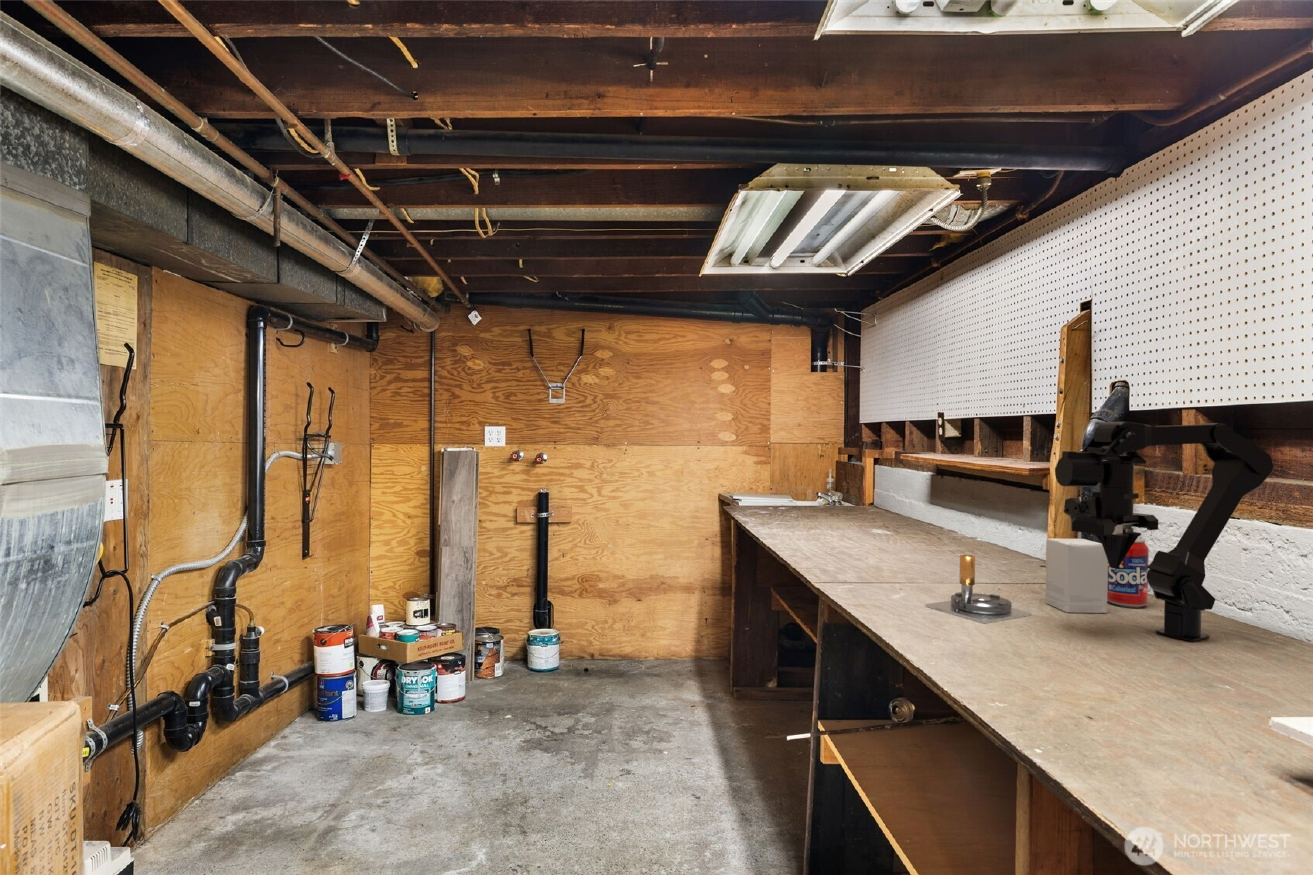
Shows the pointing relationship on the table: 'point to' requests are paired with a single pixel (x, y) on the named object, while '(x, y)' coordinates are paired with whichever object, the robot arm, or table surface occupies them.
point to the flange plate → (977, 617)
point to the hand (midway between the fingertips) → (1114, 568)
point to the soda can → (1130, 578)
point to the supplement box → (1076, 575)
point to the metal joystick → (977, 601)
